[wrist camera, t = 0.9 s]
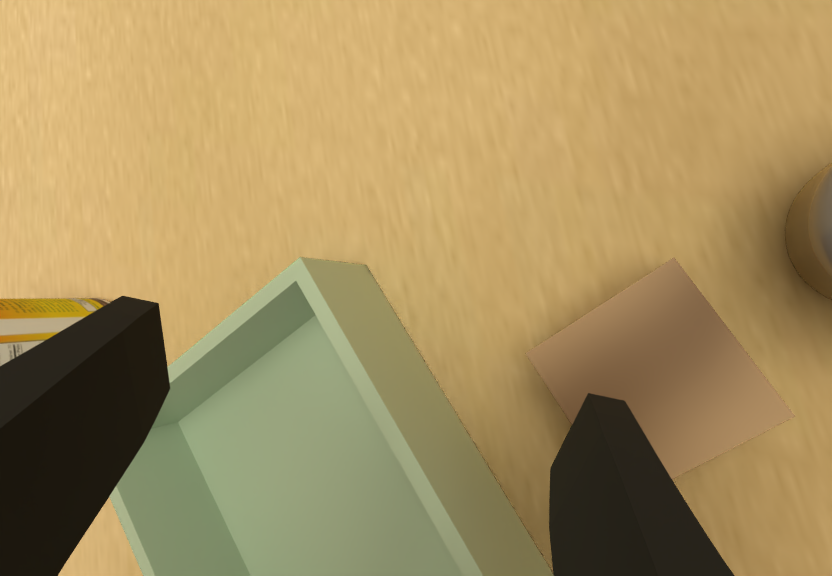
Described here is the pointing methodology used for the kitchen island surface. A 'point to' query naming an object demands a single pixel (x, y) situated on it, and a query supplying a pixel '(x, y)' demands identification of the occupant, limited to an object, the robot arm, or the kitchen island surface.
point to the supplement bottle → (38, 321)
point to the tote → (315, 450)
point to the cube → (663, 370)
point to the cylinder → (812, 232)
